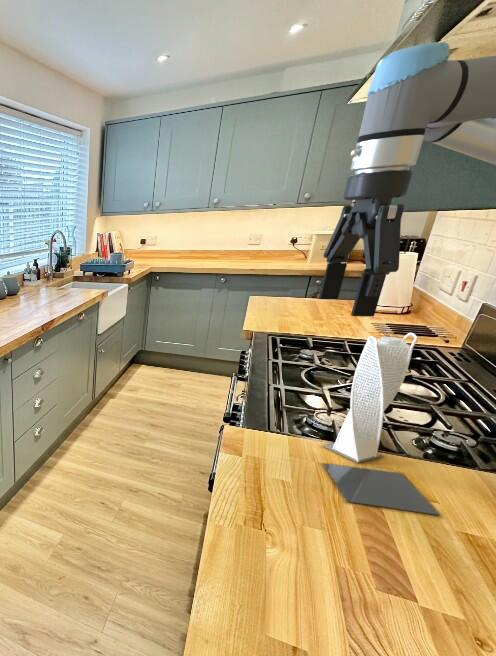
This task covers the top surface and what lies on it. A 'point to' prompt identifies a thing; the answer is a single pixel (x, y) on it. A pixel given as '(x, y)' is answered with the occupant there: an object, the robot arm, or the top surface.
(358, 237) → the robot arm
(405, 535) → the top surface
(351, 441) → the skyscraper
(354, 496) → the slate pad
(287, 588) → the top surface
